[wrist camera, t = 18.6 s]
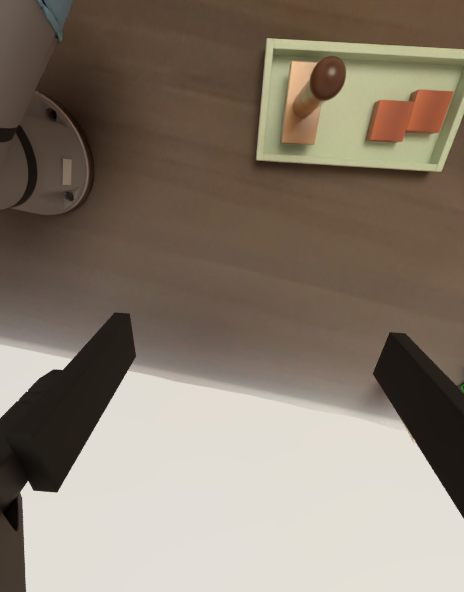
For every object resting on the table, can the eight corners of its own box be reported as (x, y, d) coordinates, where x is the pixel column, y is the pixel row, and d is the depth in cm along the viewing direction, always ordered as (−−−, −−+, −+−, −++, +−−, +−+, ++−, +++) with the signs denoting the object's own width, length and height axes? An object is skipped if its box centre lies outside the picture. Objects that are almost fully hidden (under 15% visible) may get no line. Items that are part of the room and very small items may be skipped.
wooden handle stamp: (278, 144, 33) (298, 130, 21) (287, 69, 30) (316, 2, 18) (309, 146, 33) (346, 133, 21) (321, 71, 30) (373, 5, 18)
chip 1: (364, 140, 33) (369, 139, 31) (374, 102, 31) (380, 99, 29) (396, 142, 32) (402, 141, 31) (407, 104, 31) (414, 101, 29)
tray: (255, 160, 35) (256, 160, 32) (265, 47, 29) (267, 38, 27) (429, 171, 34) (441, 171, 32) (470, 59, 29) (488, 50, 27)
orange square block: (399, 132, 32) (405, 130, 31) (411, 92, 30) (418, 89, 29) (431, 134, 32) (439, 132, 31) (444, 94, 30) (454, 91, 29)
